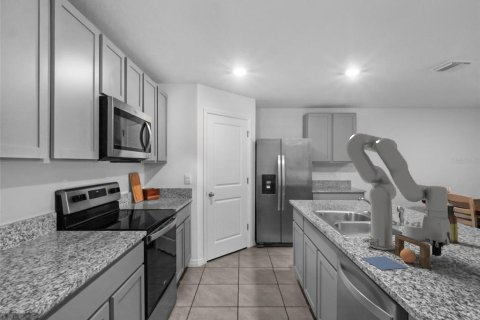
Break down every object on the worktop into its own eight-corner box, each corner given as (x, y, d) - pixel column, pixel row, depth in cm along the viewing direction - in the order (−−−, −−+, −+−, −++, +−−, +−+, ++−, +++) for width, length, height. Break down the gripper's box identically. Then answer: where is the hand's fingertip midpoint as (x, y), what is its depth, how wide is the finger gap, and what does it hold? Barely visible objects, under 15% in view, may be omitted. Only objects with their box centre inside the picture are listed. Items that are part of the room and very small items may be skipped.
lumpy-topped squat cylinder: (425, 236, 140) (425, 221, 140) (426, 242, 130) (426, 226, 130) (404, 233, 146) (404, 218, 146) (402, 238, 136) (402, 223, 136)
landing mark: (381, 270, 96) (381, 269, 96) (361, 258, 107) (361, 257, 107) (407, 268, 98) (407, 267, 98) (384, 256, 110) (384, 256, 110)
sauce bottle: (452, 239, 133) (451, 203, 133) (461, 243, 127) (461, 205, 127) (439, 239, 134) (439, 203, 134) (447, 243, 127) (447, 205, 128)
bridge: (424, 268, 98) (424, 245, 98) (395, 254, 112) (395, 234, 112) (430, 267, 98) (430, 244, 98) (400, 254, 112) (400, 234, 113)
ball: (410, 267, 101) (405, 255, 100) (399, 261, 106) (395, 250, 106) (420, 261, 101) (416, 249, 101) (409, 255, 107) (405, 244, 106)
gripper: (414, 210, 114) (414, 249, 114) (446, 218, 99) (446, 262, 99) (427, 210, 115) (427, 248, 115) (461, 217, 101) (461, 261, 101)
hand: (436, 255), depth 107 cm, fingers closed
